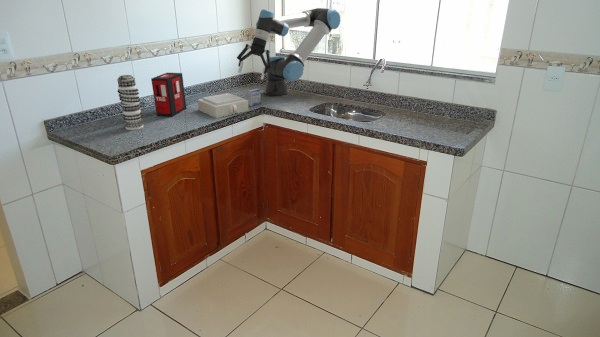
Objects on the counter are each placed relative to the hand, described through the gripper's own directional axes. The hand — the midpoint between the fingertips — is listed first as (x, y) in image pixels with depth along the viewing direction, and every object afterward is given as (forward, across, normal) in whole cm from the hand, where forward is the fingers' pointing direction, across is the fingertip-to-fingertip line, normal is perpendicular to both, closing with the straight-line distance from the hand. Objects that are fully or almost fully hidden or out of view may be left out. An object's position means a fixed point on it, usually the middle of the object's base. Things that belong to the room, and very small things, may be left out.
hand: (250, 76), depth 228 cm
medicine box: (+15, +5, +5) cm, 17 cm away
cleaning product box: (+31, -33, -16) cm, 48 cm away
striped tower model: (+40, -37, -43) cm, 69 cm away
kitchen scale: (+22, -7, -9) cm, 25 cm away
